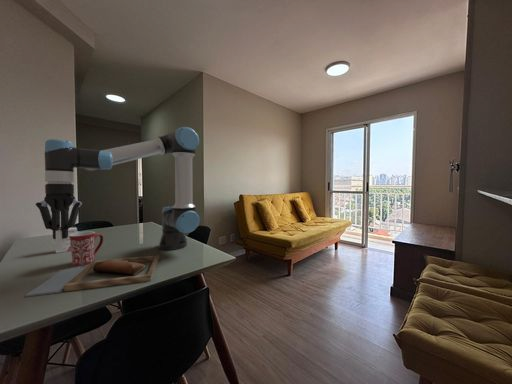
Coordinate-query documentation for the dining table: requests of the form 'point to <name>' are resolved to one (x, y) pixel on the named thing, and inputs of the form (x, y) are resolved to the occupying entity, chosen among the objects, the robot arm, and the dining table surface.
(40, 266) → the dining table surface
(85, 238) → the mug
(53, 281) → the felt pad
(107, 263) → the sunglasses case
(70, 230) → the ink box
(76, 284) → the open square wooden frame
